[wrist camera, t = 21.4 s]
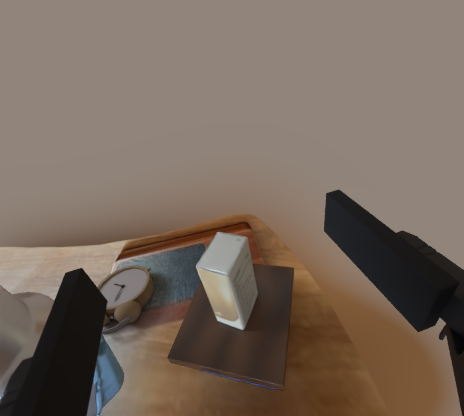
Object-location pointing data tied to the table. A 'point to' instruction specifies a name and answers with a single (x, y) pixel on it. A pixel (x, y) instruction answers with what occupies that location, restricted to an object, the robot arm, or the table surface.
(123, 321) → the alarm clock
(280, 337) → the board
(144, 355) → the table surface
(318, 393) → the table surface
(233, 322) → the cosmetic box
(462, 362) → the robot arm
